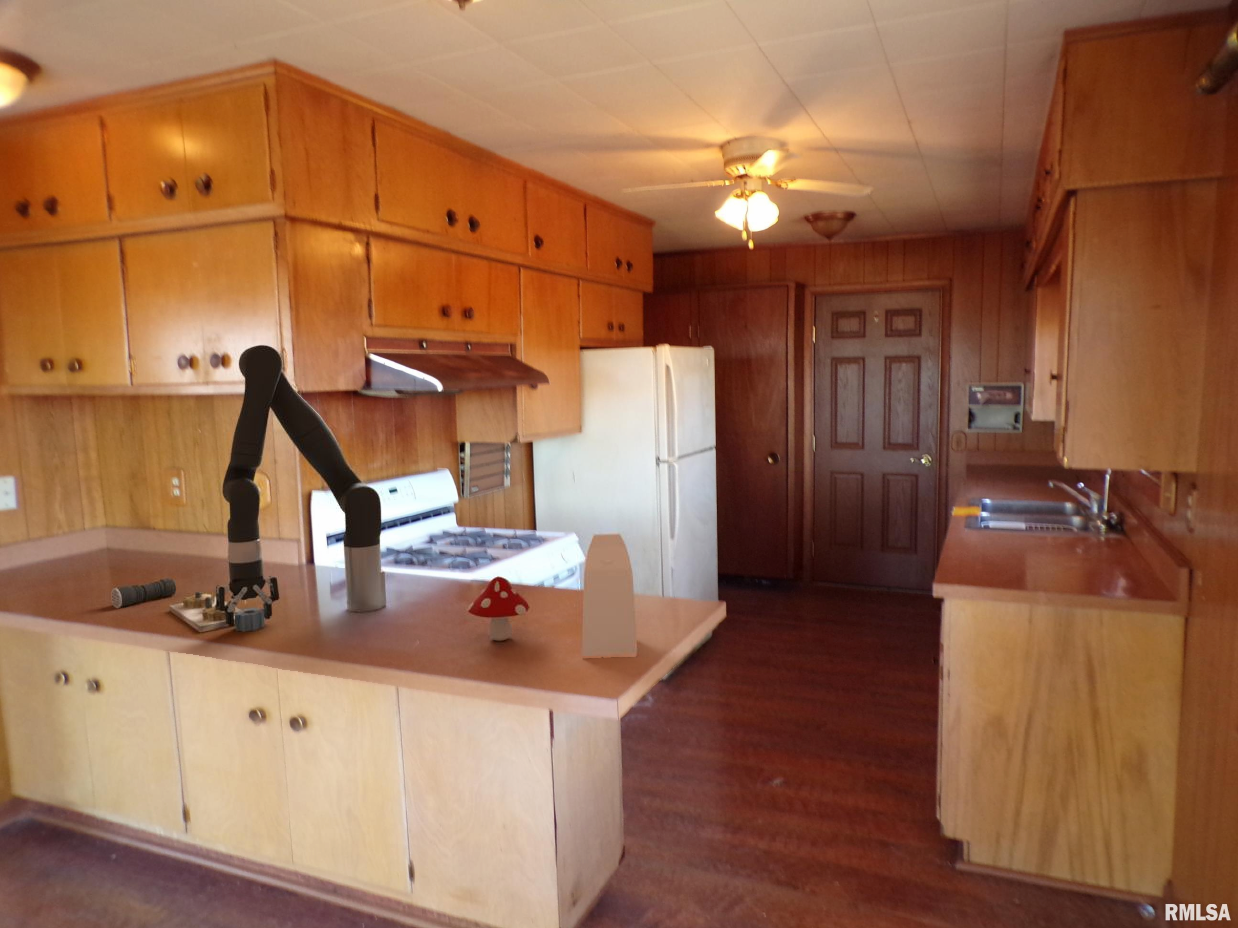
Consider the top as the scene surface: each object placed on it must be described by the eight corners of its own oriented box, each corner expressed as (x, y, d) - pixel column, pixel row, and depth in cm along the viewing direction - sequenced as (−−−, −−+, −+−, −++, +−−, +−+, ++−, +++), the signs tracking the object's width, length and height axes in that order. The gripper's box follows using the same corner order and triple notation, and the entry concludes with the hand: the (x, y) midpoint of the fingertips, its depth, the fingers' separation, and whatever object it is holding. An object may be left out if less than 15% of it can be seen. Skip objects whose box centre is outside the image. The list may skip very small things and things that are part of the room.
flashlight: (169, 593, 237) (167, 575, 236) (178, 596, 233) (177, 578, 233) (111, 606, 224) (110, 587, 224) (120, 609, 221) (119, 590, 220)
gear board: (217, 601, 226) (216, 583, 226) (251, 621, 208) (249, 601, 207) (169, 610, 218) (168, 592, 218) (200, 632, 199) (198, 611, 199)
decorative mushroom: (543, 638, 191) (541, 575, 189) (497, 653, 180) (495, 587, 179) (504, 626, 200) (502, 566, 198) (458, 640, 190) (455, 577, 188)
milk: (634, 639, 188) (632, 528, 185) (637, 657, 177) (635, 539, 174) (582, 641, 188) (579, 530, 185) (581, 658, 177) (579, 540, 174)
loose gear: (259, 621, 207) (257, 606, 207) (268, 627, 203) (267, 611, 202) (231, 627, 203) (230, 611, 202) (241, 633, 198) (239, 617, 198)
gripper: (219, 565, 193) (224, 632, 195) (280, 555, 203) (284, 619, 205) (209, 560, 199) (214, 625, 200) (269, 551, 208) (273, 613, 210)
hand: (249, 622), depth 203 cm, fingers open, 8 cm apart
